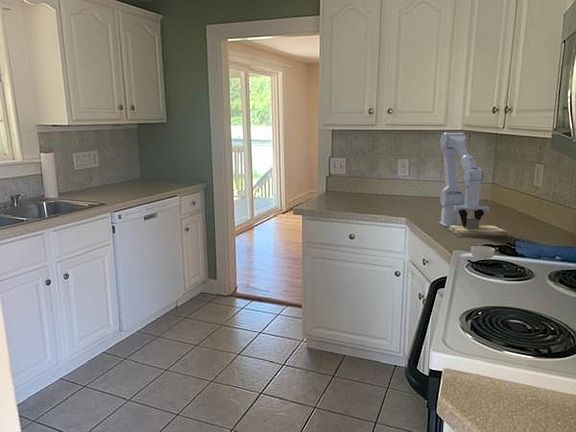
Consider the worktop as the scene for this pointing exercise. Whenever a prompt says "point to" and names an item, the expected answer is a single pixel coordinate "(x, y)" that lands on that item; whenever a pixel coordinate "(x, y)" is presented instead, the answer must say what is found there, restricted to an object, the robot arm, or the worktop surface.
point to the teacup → (482, 252)
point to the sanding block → (471, 223)
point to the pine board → (478, 231)
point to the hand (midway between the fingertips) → (469, 226)
